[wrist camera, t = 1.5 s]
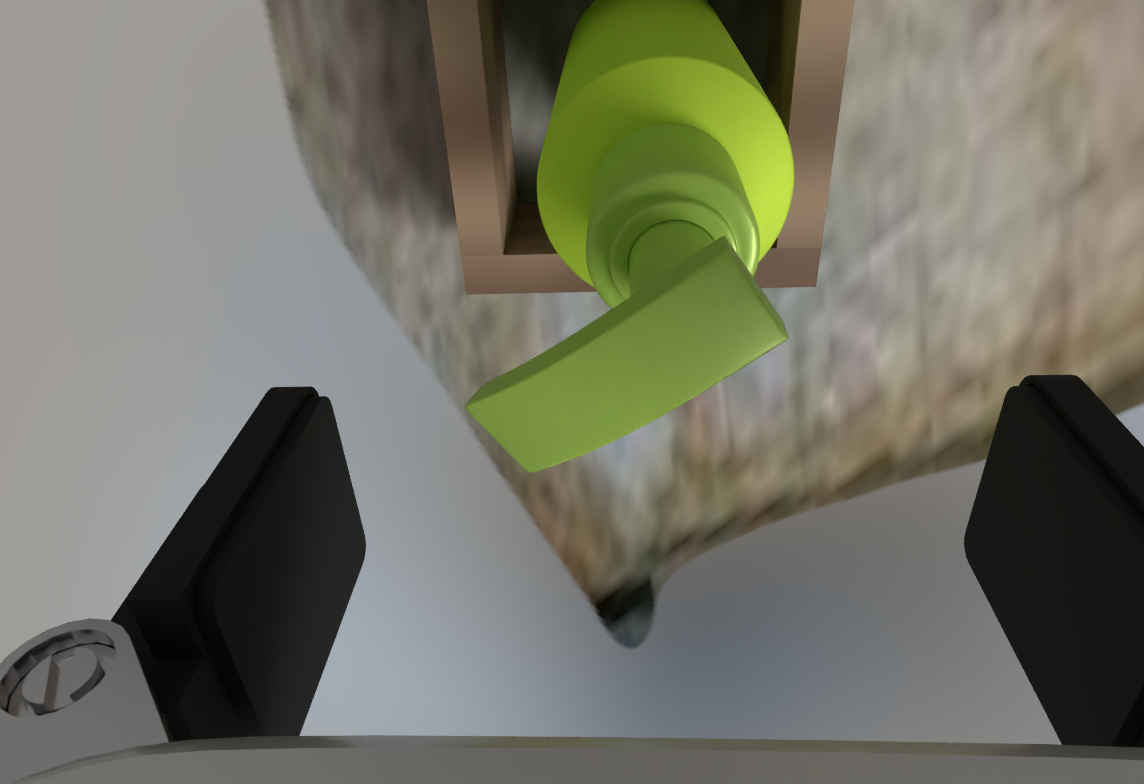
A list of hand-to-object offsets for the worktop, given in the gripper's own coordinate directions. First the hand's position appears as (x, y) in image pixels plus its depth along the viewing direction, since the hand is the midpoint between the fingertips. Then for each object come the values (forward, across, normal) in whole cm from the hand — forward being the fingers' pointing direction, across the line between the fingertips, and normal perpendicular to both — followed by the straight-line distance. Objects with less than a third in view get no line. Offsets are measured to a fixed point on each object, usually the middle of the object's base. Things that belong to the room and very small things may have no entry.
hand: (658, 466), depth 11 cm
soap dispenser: (+22, 0, -1) cm, 22 cm away
